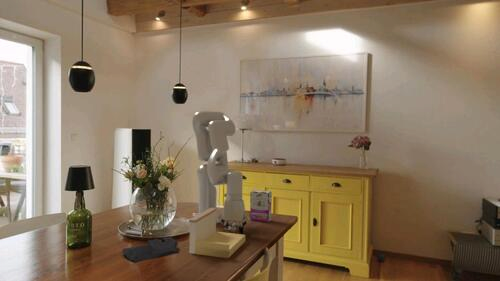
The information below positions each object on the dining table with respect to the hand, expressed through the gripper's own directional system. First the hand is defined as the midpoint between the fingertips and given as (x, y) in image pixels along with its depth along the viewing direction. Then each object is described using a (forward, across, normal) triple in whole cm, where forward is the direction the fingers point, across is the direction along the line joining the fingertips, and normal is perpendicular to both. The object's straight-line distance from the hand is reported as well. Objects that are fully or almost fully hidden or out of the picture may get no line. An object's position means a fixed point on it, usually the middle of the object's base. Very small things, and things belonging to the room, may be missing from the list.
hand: (234, 233), depth 172 cm
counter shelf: (+1, -1, -18) cm, 18 cm away
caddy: (+1, 0, 0) cm, 1 cm away
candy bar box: (+1, +5, +30) cm, 30 cm away
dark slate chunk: (+1, -25, -33) cm, 41 cm away
